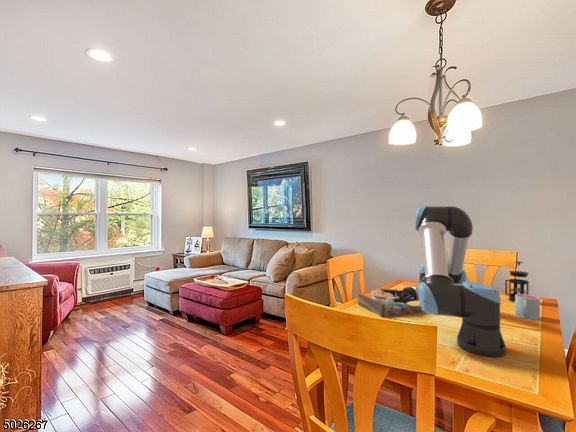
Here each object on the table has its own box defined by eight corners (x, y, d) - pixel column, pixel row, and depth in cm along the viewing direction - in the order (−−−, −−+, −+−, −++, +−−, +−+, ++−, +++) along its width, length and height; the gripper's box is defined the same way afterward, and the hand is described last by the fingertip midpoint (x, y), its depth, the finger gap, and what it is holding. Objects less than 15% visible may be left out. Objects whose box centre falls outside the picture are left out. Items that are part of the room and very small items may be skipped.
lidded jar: (394, 313, 146) (395, 294, 146) (372, 311, 148) (372, 293, 148) (391, 306, 156) (391, 289, 157) (371, 305, 159) (371, 288, 159)
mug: (516, 312, 148) (516, 293, 149) (540, 317, 142) (540, 296, 142) (512, 319, 139) (512, 298, 139) (537, 324, 132) (537, 302, 132)
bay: (397, 300, 168) (397, 290, 168) (425, 312, 148) (425, 300, 148) (358, 304, 160) (358, 293, 160) (381, 317, 140) (382, 304, 140)
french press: (526, 299, 173) (526, 261, 173) (533, 304, 164) (533, 263, 164) (502, 297, 176) (502, 259, 176) (508, 302, 167) (509, 262, 167)
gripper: (430, 307, 147) (394, 311, 140) (397, 295, 170) (365, 297, 164) (430, 292, 147) (395, 295, 140) (397, 282, 170) (365, 284, 164)
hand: (379, 297), depth 152 cm, fingers open, 13 cm apart
